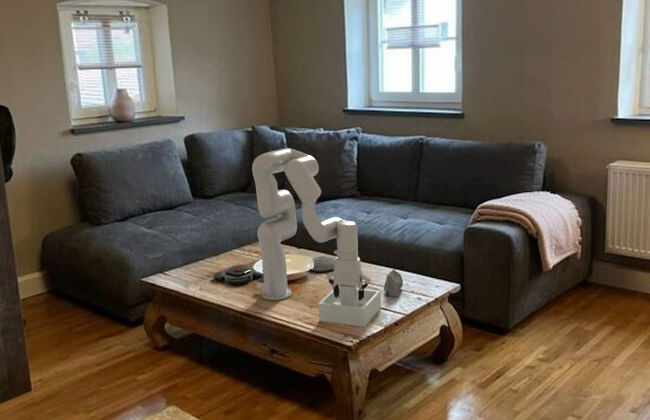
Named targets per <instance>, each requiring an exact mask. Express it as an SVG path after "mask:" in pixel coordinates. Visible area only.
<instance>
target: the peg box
mask: <svg viewBox="0 0 650 420" xmlns="http://www.w3.org/2000/svg"><path fill="white" fill-rule="evenodd" d="M358 291H359V288H358V287H356V292H357V307H354V306H346V305H341V303H340V286H339V295H338V296H337V297H335V296H334V292H333V289H332V290H331V291H330V292H329V293H328V294H327V295H325V296H324V297H323V298H322V300H320V301H319V302H318V319H319V320H318V321H319V322H324V323H332V324H340V325H347V326H355V327H364V328H366V326H367V325H368V324H369V323H370V322H371V320H373V318H374V317H375V316H376V315H377V313H379V311H380V310H381V308H382V302H381V301H382V298H381V295H382V294H381V290H374V289H366V288H365V289H364V298H363V299H362V300H361V301H359V296H358Z"/></svg>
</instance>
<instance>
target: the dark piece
mask: <svg viewBox="0 0 650 420" xmlns="http://www.w3.org/2000/svg"><path fill="white" fill-rule="evenodd" d="M259 277H261V276H260V275H259V274H258V273H256V272H255V270H254V269H253V267H252V266H248V265H245V264H244V265H243V264H239V265H237V264H236V265H232V266H229V267H227V268H224V269H223V271H222V270H220V271H217V272H215V273H213V279H214V281H218V282H225V283H226V284H227V283H228V284H230V285H233V286H234V285H235V286H237V285H244V284H247V283H248V282H251V281H252V280H253V279H254V278H255V279H257V278H259Z"/></svg>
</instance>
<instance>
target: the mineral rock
mask: <svg viewBox="0 0 650 420" xmlns="http://www.w3.org/2000/svg"><path fill="white" fill-rule="evenodd" d="M403 281H404V280H403V277H402V275H401V274H400V272H398V271H396V269H394V268H393V269H392V271H390V272H389V273H388V274H387V275H386V280H385V282H384V286H383V291H384V295H385V296H386V297H391V298H395V297H399V296H400V295H401V289H402V288H403V284H404V282H403Z"/></svg>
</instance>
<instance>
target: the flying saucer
mask: <svg viewBox="0 0 650 420" xmlns="http://www.w3.org/2000/svg"><path fill="white" fill-rule="evenodd" d="M311 259H312V260H313V262H314V268H313V270H311V271H314V272H328V271H332V270H334V264H335V258H333V257H330V256H325V255H321V256H316V257H313V258H311Z"/></svg>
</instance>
